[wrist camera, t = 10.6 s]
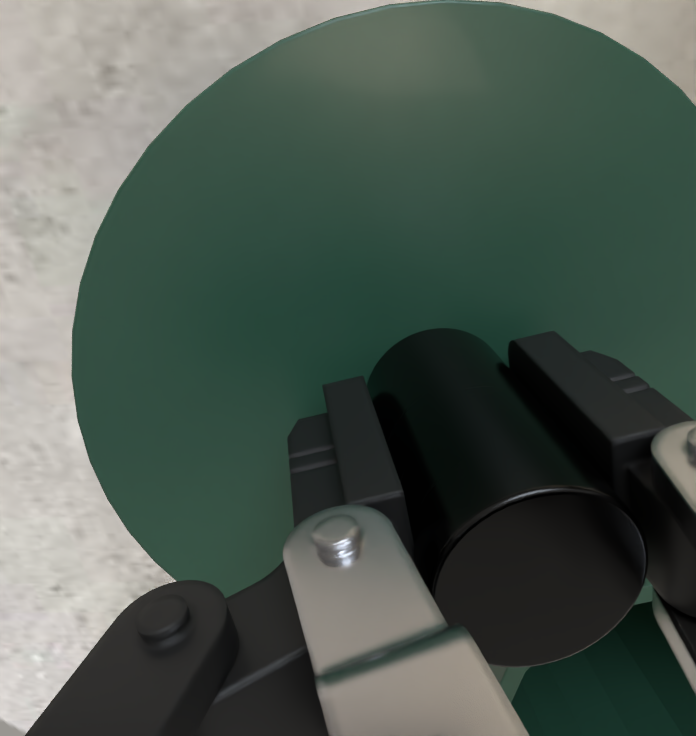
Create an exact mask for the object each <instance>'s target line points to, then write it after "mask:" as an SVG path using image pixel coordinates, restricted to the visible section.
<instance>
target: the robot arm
mask: <svg viewBox="0 0 696 736" xmlns="http://www.w3.org/2000/svg"><path fill="white" fill-rule="evenodd" d="M508 359H509V368H510V370H511V371H512V372H513V374H514V375H515V376H516V377H517V378H518V379H519V381H520V382H521V383H522V384H523V385H524V386H525V388H526V389H527V390H528V391H529V392H530V393H531V395H532V396H533V397H534V398H535V399H536V400H537V402H538V403H539V404H540V405H541V406H542V407H543V409H544V410H545V411H546V412H547V413H548V415H549V416H550V417H551V418H552V419H553V420H554V422H555V423H556V424H557V425H558V426H559V427H560V429H561V430H562V431H563V432H564V433H565V434H566V436H567V437H568V438H569V439H570V440H571V441H572V443H573V444H574V445H575V446H576V447H577V448H578V450H579V451H580V452H581V453H582V454H583V455H584V457H585V458H586V459H587V460H588V461H589V462H590V464H591V465H592V466H593V467H594V468H595V469H596V471H597V472H598V473H599V474H600V475H601V476H602V478H603V479H604V480H605V481H606V482H607V483H608V485H609V486H610V487H611V488H612V489H613V491H614V492H615V493H616V494H617V495H618V496H619V498H620V499H621V500H622V501H623V502H624V503H625V505H626V506H627V507H628V508H629V509H630V510H631V512H632V513H633V514H634V515H635V517H636V518H637V520H638V521H639V523H640V524H641V527H642V529H643V532H644V534H645V538H646V542H647V547H648V569H647V575H646V578H647V579H648V580H649V582H650V583H651V584H652V597H653V613H654V616H655V618H656V620H657V622H658V624H659V626H660V628H661V630H662V632H663V634H664V636H665V638H666V639H667V641H668V643H669V645H670V647H671V649H672V651H673V653H674V655H675V657H676V658H677V660H678V662H679V664H680V666H681V668H682V670H683V672H684V674H685V676H686V677H687V679H688V681H689V683H690V685H691V687H692V689H693V691H694V693H695V695H696V421H695V420H694V419H692V418H691V417H690V416H688V415H687V414H686V413H685V412H683V411H682V410H681V409H680V408H678V407H677V406H676V405H675V404H673V403H672V402H671V401H669V400H668V399H667V398H666V397H664V396H663V395H662V394H661V393H659V392H658V391H657V390H656V389H654V388H650V386H649V384H648V383H647V382H645V381H644V380H643V379H642V378H640V377H639V376H635V373H634V372H633V371H631V370H630V369H629V368H628V367H626V366H625V365H624V364H623V363H621V362H620V361H619V360H618V359H615V358H612V357H609V356H606V355H603V354H600V353H597V352H594V351H591V350H589V351H585V352H579V351H577V350H576V349H575V348H574V347H573V346H572V345H570V344H569V343H568V342H567V341H566V340H565V339H563V338H562V337H561V336H560V335H559V334H558V333H556V332H555V331H549V332H544V333H540V334H536V335H532V336H528V337H523V338H519V339H515V340H511V341H510V342H509V345H508ZM322 388H323V393H324V397H325V402H326V407H327V413H323V414H319V415H315V416H311V417H306V418H302V419H298V420H297V422H296V424H295V425H294V427H293V429H292V431H291V432H290V434H289V436H288V437H287V442H288V455H289V467H290V480H291V493H292V506H293V518H294V529H293V530H292V531H291V533H290V534H289V535H288V537H287V539H286V541H285V544H284V546H283V559H284V560H283V561H282V563H281V564H280V565H279V566H278V567H277V568H276V569H275V570H273V571H272V572H271V573H270V574H268V575H267V576H266V577H264V578H263V579H261V580H260V581H258V582H256V583H254V584H253V585H251V586H249V587H247V588H245V589H243V590H241V591H239V592H237V593H235V594H233V595H231V596H229V597H227V598H225V597H224V595H223V593H222V592H221V591H220V590H219V589H218V588H217V587H215V586H214V585H212V584H210V583H207V582H204V581H199V580H184V581H177V582H173V583H169V584H166V585H163V586H160V587H158V588H156V589H154V590H151V591H149V592H148V593H146V594H144V595H143V596H141V597H139V598H138V599H137V600H135V601H134V602H133V603H131V604H130V605H129V606H128V607H127V608H126V609H125V610H123V612H122V613H121V614H120V615H119V616H118V617H117V618H116V620H115V621H114V622H113V623H112V625H111V626H110V627H109V629H108V630H107V631H106V632H105V634H104V635H103V636H102V637H101V639H100V640H99V641H98V643H97V644H96V645H95V646H94V648H93V649H92V650H91V652H90V653H89V654H88V655H87V657H86V658H85V659H84V661H83V662H82V663H81V664H80V666H79V667H78V668H77V669H76V671H75V672H74V673H73V675H72V676H71V677H70V678H69V680H68V681H67V682H66V684H65V685H64V686H63V687H62V689H61V690H60V691H59V693H58V694H57V695H56V696H55V698H54V699H53V700H52V701H51V703H50V704H49V705H48V707H47V708H46V709H45V710H44V712H43V713H42V714H41V716H40V717H39V718H38V719H37V721H36V722H35V723H34V725H33V726H32V727H31V728H30V730H29V731H28V732H27V733H26V735H25V736H529V734H528V732H527V730H526V729H525V727H524V725H523V724H522V722H521V720H520V718H519V717H518V715H517V713H516V712H515V710H514V708H513V706H512V705H511V703H510V701H509V699H508V698H507V696H506V694H505V693H504V691H503V689H502V687H501V686H500V684H499V682H498V681H497V679H496V677H495V675H494V674H493V672H492V670H491V669H490V667H489V665H488V663H487V662H486V660H485V658H484V657H483V655H482V653H481V651H480V650H479V648H478V646H477V645H476V643H475V641H474V640H473V638H472V636H471V635H470V633H469V632H468V631H467V629H466V628H465V627H464V626H463V625H462V624H460V623H456V624H454V625H451V626H448V624H447V623H446V621H445V619H444V617H443V616H442V614H441V612H440V610H439V608H438V607H437V605H436V603H435V601H434V599H433V597H432V596H431V594H430V592H429V590H428V588H427V587H426V585H425V583H424V581H423V579H422V577H421V576H420V574H419V572H418V570H417V568H416V567H415V563H414V541H413V536H412V531H411V527H410V522H409V517H408V512H407V507H406V502H405V497H404V492H403V489H402V486H401V483H400V480H399V477H398V474H397V472H396V469H395V466H394V463H393V460H392V457H391V454H390V451H389V449H388V446H387V443H386V440H385V437H384V434H383V431H382V429H381V426H380V423H379V420H378V417H377V414H376V411H375V408H374V406H373V403H372V400H371V397H370V394H369V391H368V388H367V386H366V383H365V380H364V377H363V375H362V376H358V377H353V378H349V379H345V380H341V381H337V382H332V383H328V384H324V385H322Z"/></svg>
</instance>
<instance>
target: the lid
mask: <svg viewBox="0 0 696 736" xmlns="http://www.w3.org/2000/svg"><path fill="white" fill-rule="evenodd" d="M549 331H555V332H556V333H558V334H559V335H560V336H561V337H562V338H563V339H565V340H566V341H567V342H568V343H569V344H570V345H572V346H573V347H574V348H575V349H576V350H577V351H579V352H585V351H589V350H591V351H594V352H597V353H600V354H603V355H606V356H609V357H612V358H615V359H618V360H619V361H620V362H621V363H623V364H624V365H625V366H626V367H628V368H629V369H630V370H631V371H633V372H634V373H635V376H639V377H640V378H642V379H643V380H644V381H645V382H647V383H648V384H649V386H650V388H654V389H656V390H657V391H658V392H659V393H661V394H662V395H663V396H664V397H666V398H667V399H668V400H669V401H671V402H672V403H673V404H675V405H676V406H677V407H678V408H680V409H681V410H682V411H683V412H685V413H686V414H687V415H688V416H690V417H691V418H692V419H694V420H695V421H696V106H695V105H694V104H693V103H692V102H691V100H690V99H689V98H688V97H687V96H686V95H685V93H684V92H683V91H682V90H681V89H680V88H679V87H678V86H677V85H675V84H674V83H673V82H672V81H671V80H669V79H668V78H667V77H666V76H665V75H664V74H662V73H661V72H660V71H659V70H658V69H656V68H655V67H654V66H653V65H652V64H651V63H649V62H648V61H647V60H646V59H645V58H643V57H641V56H640V55H638V54H636V53H635V52H633V51H631V50H630V49H628V48H626V47H625V46H623V45H621V44H620V43H618V42H616V41H615V40H613V39H611V38H609V37H608V36H606V35H604V34H603V33H601V32H598V31H596V30H593V29H591V28H588V27H586V26H583V25H581V24H578V23H576V22H573V21H570V20H568V19H565V18H563V17H560V16H558V15H555V14H552V13H548V12H543V11H538V10H534V9H529V8H525V7H520V6H515V5H511V4H506V3H502V2H487V1H470V0H431V1H420V2H409V3H398V4H389V5H385V6H381V7H377V8H373V9H369V10H365V11H361V12H357V13H352V14H348V15H344V16H340V17H336V18H333V19H330V20H328V21H326V22H323V23H321V24H318V25H316V26H313V27H311V28H308V29H306V30H304V31H301V32H299V33H296V34H294V35H291V36H289V37H287V38H284V39H282V40H280V41H278V42H276V43H274V44H273V45H271V46H269V47H268V48H266V49H264V50H263V51H261V52H259V53H258V54H256V55H254V56H252V57H251V58H249V59H247V60H246V61H244V62H242V63H241V64H239V65H237V66H236V67H234V68H232V69H231V70H229V71H228V72H227V73H226V74H224V75H223V76H222V77H221V78H219V79H218V80H217V81H216V82H214V83H213V84H212V85H211V86H209V87H208V88H207V89H206V90H204V91H203V92H202V93H201V94H199V95H198V96H197V97H196V98H194V99H193V100H192V101H191V102H190V103H188V104H187V105H186V106H185V107H184V108H183V109H182V110H181V111H180V112H179V114H178V115H177V116H176V117H175V118H174V119H173V120H172V121H171V122H170V123H169V124H168V125H167V126H166V128H165V129H164V130H163V131H162V132H161V133H160V134H159V135H158V136H157V137H156V138H155V139H154V140H153V141H152V143H151V144H150V145H149V146H148V147H147V149H146V150H145V152H144V153H143V155H142V156H141V157H140V159H139V160H138V162H137V163H136V165H135V166H134V168H133V169H132V170H131V172H130V173H129V175H128V176H127V178H126V179H125V181H124V182H123V183H122V185H121V186H120V188H119V189H118V191H117V193H116V195H115V197H114V199H113V201H112V203H111V205H110V207H109V209H108V211H107V213H106V215H105V217H104V219H103V221H102V223H101V225H100V228H99V230H98V232H97V234H96V236H95V238H94V241H93V245H92V248H91V251H90V254H89V257H88V260H87V263H86V266H85V269H84V273H83V276H82V279H81V282H80V286H79V292H78V298H77V304H76V311H75V317H74V323H73V329H72V383H73V390H74V397H75V404H76V412H77V419H78V423H79V426H80V430H81V433H82V436H83V440H84V443H85V447H86V450H87V453H88V457H89V460H90V463H91V465H92V467H93V469H94V471H95V473H96V476H97V478H98V480H99V482H100V484H101V486H102V489H103V491H104V493H105V495H106V497H107V499H108V501H109V502H110V504H111V505H112V507H113V508H114V510H115V511H116V513H117V515H118V516H119V518H120V519H121V521H122V522H123V524H124V525H125V527H126V528H127V530H128V531H129V533H130V534H131V535H132V536H133V537H134V538H135V540H136V541H137V542H138V543H139V544H140V545H141V547H142V548H143V549H144V550H145V551H146V552H147V553H148V555H149V556H150V557H151V558H152V559H153V560H154V561H155V562H156V563H157V564H158V565H159V566H160V567H161V568H163V569H164V570H165V571H166V572H167V573H168V574H169V575H170V576H172V577H173V578H174V579H175V580H176V581H184V580H199V581H204V582H207V583H210V584H212V585H214V586H215V587H217V588H218V589H219V590H220V591H221V592H222V593H223V595H224V597H225V598H227V597H229V596H231V595H233V594H235V593H237V592H239V591H241V590H243V589H245V588H247V587H249V586H251V585H253V584H254V583H256V582H258V581H260V580H261V579H263V578H264V577H266V576H267V575H268V574H270V573H271V572H272V571H273V570H275V569H276V568H277V567H278V566H279V565H280V564H281V563H282V561H283V560H284V559H283V546H284V544H285V541H286V539H287V537H288V535H289V534H290V533H291V531H292V530H293V529H294V518H293V506H292V493H291V480H290V467H289V455H288V442H287V437H288V436H289V434H290V432H291V431H292V429H293V427H294V425H295V424H296V422H297V420H298V419H302V418H306V417H311V416H315V415H319V414H323V413H327V407H326V402H325V397H324V393H323V388H322V385H324V384H328V383H332V382H337V381H341V380H345V379H349V378H353V377H358V376H362V375H363V377H364V380H365V383H366V386H367V388H368V391H369V394H370V397H371V400H372V403H373V406H374V408H375V411H376V414H377V417H378V420H379V423H380V426H381V429H382V431H383V434H384V437H385V440H386V443H387V446H388V449H389V451H390V454H391V457H392V460H393V463H394V466H395V469H396V472H397V474H398V477H399V480H400V483H401V486H402V489H403V492H404V497H405V502H406V507H407V512H408V517H409V522H410V527H411V531H412V536H413V541H414V563H415V567H416V568H417V570H418V572H419V574H420V576H421V577H422V579H423V581H424V583H425V585H426V587H427V588H428V590H429V592H430V594H431V596H432V597H433V599H434V601H435V603H436V605H437V607H438V608H439V610H440V612H441V614H442V616H443V617H444V619H445V621H446V623H447V624H448V626H451V625H454V624H456V623H460V624H462V625H463V626H464V627H465V628H466V629H467V631H468V632H469V633H470V635H471V636H472V638H473V640H474V641H475V643H476V645H477V646H478V648H479V650H480V651H481V653H482V655H483V657H484V658H485V660H486V662H487V663H488V665H492V666H499V667H514V668H519V667H532V666H538V665H543V664H547V663H551V662H555V661H558V660H561V659H564V658H566V657H569V656H572V655H574V654H576V653H578V652H580V651H582V650H584V649H586V648H587V647H589V646H591V645H592V644H594V643H596V642H597V641H598V640H600V639H601V638H603V637H604V636H605V635H607V634H608V633H609V632H610V631H611V630H612V629H613V628H615V627H616V626H617V625H618V624H619V622H620V621H621V620H622V619H623V618H624V617H625V616H626V615H627V613H628V612H629V611H630V609H631V608H632V607H633V605H634V603H635V602H636V600H637V598H638V596H639V594H640V592H641V590H642V587H643V585H644V582H645V578H646V575H647V569H648V547H647V542H646V538H645V534H644V532H643V529H642V527H641V524H640V523H639V521H638V520H637V518H636V517H635V515H634V514H633V513H632V512H631V510H630V509H629V508H628V507H627V506H626V505H625V503H624V502H623V501H622V500H621V499H620V498H619V496H618V495H617V494H616V493H615V492H614V491H613V489H612V488H611V487H610V486H609V485H608V483H607V482H606V481H605V480H604V479H603V478H602V476H601V475H600V474H599V473H598V472H597V471H596V469H595V468H594V467H593V466H592V465H591V464H590V462H589V461H588V460H587V459H586V458H585V457H584V455H583V454H582V453H581V452H580V451H579V450H578V448H577V447H576V446H575V445H574V444H573V443H572V441H571V440H570V439H569V438H568V437H567V436H566V434H565V433H564V432H563V431H562V430H561V429H560V427H559V426H558V425H557V424H556V423H555V422H554V420H553V419H552V418H551V417H550V416H549V415H548V413H547V412H546V411H545V410H544V409H543V407H542V406H541V405H540V404H539V403H538V402H537V400H536V399H535V398H534V397H533V396H532V395H531V393H530V392H529V391H528V390H527V389H526V388H525V386H524V385H523V384H522V383H521V382H520V381H519V379H518V378H517V377H516V376H515V375H514V374H513V372H512V371H511V370H510V368H509V359H508V345H509V342H510V341H511V340H515V339H519V338H523V337H528V336H532V335H536V334H540V333H544V332H549Z"/></svg>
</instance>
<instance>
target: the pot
mask: <svg viewBox="0 0 696 736" xmlns="http://www.w3.org/2000/svg"><path fill="white" fill-rule="evenodd" d="M489 667H490V669H491V670H492V672H493V674H494V675H495V677H496V679H497V681H498V682H499V684H500V686H501V687H502V689H503V691H504V693H505V694H506V696H507V698H508V699H509V701H510V703H511V705H512V706H513V708H514V710H515V712H516V713H517V715H518V717H519V718H520V720H521V722H522V724H523V725H524V727H525V729H526V730H527V732H528V734H529V736H696V695H695V693H694V691H693V689H692V687H691V685H690V683H689V681H688V679H687V677H686V676H685V674H684V672H683V670H682V668H681V666H680V664H679V662H678V660H677V658H676V657H675V655H674V653H673V651H672V649H671V647H670V645H669V643H668V641H667V639H666V638H665V636H664V634H663V632H662V630H661V628H660V626H659V624H658V622H657V620H656V618H655V616H654V613H653V597H652V584H651V583H650V582H649V580H648V579H647V578H645V582H644V585H643V587H642V590H641V592H640V594H639V596H638V598H637V600H636V602H635V603H634V605H633V607H632V608H631V609H630V611H629V612H628V613H627V615H626V616H625V617H624V618H623V619H622V620H621V621H620V622H619V624H618V625H617V626H616V627H615V628H613V629H612V630H611V631H610V632H609V633H608V634H607V635H605V636H604V637H603V638H601V639H600V640H598V641H597V642H596V643H594V644H592V645H591V646H589V647H587V648H586V649H584V650H582V651H580V652H578V653H576V654H574V655H572V656H569V657H566V658H564V659H561V660H558V661H555V662H551V663H547V664H543V665H538V666H532V667H519V668H514V667H499V666H492V665H489Z"/></svg>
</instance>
